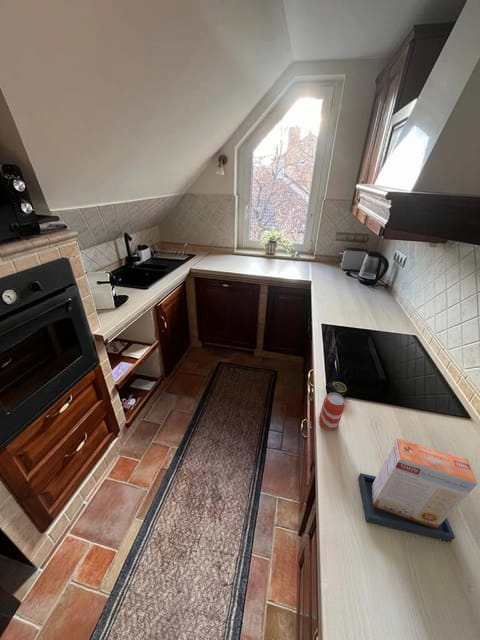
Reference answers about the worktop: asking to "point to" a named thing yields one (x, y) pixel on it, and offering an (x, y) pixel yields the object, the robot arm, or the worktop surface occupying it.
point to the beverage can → (331, 411)
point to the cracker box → (421, 483)
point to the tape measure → (337, 388)
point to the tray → (395, 521)
